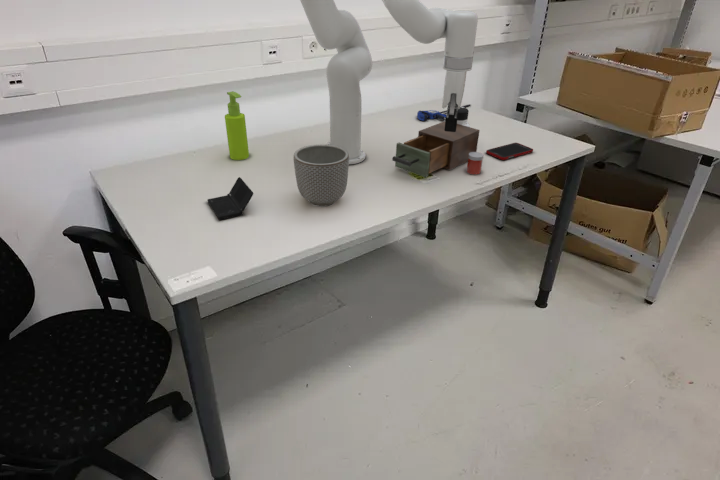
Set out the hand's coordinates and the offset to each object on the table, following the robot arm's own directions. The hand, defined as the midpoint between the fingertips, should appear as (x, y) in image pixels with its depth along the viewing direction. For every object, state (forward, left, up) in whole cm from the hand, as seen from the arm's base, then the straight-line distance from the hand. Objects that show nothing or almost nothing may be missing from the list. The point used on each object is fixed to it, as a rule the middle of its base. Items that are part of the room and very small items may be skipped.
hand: (450, 130), depth 138 cm
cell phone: (+29, +8, -13) cm, 32 cm away
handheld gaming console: (-62, 0, -14) cm, 64 cm away
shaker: (+9, -1, -13) cm, 16 cm away
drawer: (-6, +5, -12) cm, 15 cm away
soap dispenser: (-54, +33, -14) cm, 65 cm away
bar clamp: (+32, +52, -14) cm, 62 cm away
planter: (-39, -4, -14) cm, 42 cm away
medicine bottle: (+17, +22, -14) cm, 31 cm away
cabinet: (+7, +11, -13) cm, 18 cm away
